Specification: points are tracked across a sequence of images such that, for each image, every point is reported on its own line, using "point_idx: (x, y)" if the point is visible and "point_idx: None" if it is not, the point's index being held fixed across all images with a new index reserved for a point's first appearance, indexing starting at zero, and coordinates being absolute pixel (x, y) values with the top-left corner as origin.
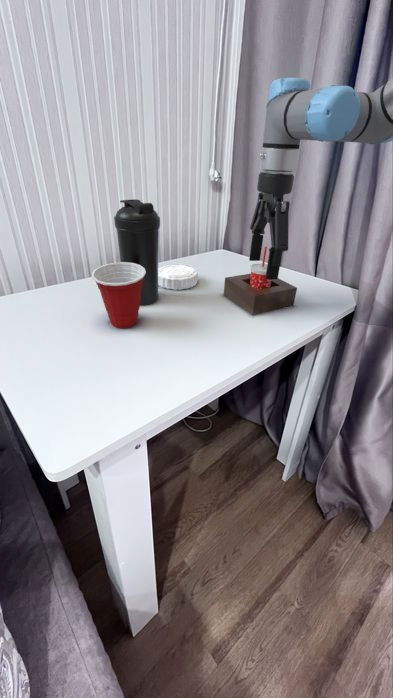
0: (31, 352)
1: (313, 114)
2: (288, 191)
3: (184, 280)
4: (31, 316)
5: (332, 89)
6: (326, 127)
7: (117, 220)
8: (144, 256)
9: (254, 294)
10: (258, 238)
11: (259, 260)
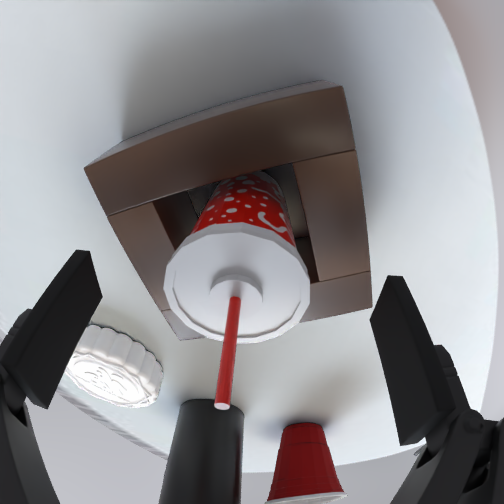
0: (340, 459)
1: None
2: None
3: (150, 378)
4: (260, 466)
5: None
6: None
7: None
8: (239, 500)
9: (359, 305)
10: (38, 373)
11: (90, 254)
